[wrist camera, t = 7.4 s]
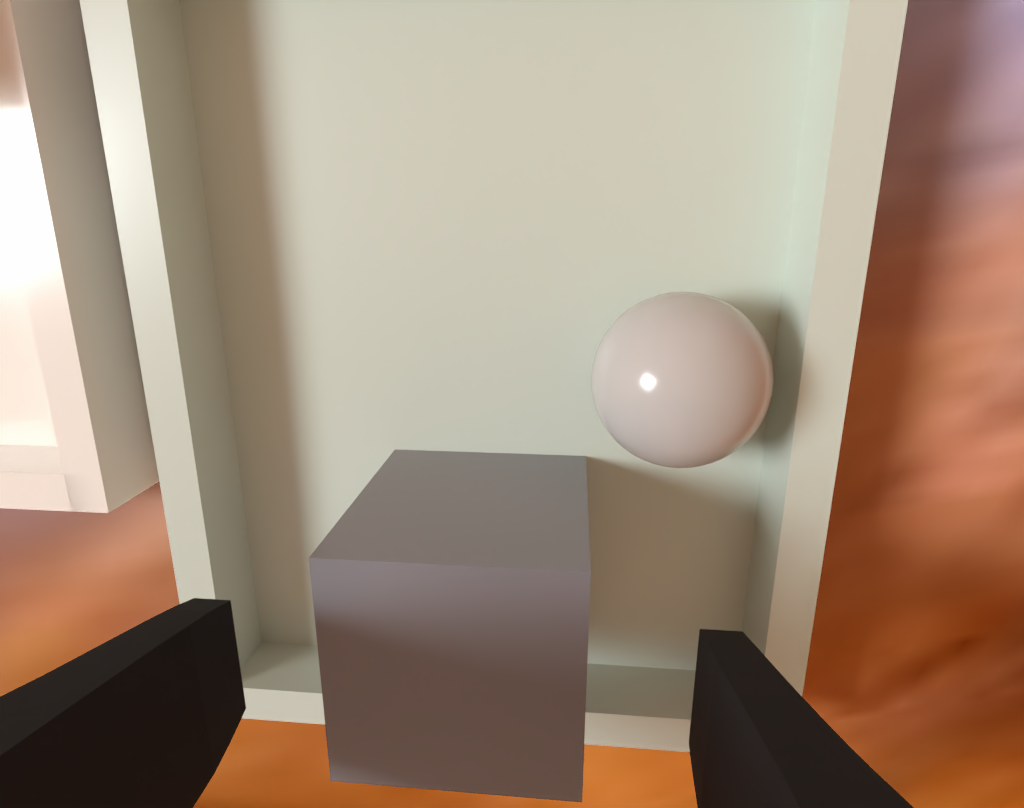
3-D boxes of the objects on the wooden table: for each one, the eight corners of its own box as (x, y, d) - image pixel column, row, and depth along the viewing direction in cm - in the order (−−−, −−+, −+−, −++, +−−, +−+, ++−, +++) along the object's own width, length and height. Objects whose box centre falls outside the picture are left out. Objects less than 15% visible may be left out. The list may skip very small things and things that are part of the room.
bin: (764, 689, 15) (792, 760, 13) (244, 655, 16) (198, 714, 14) (869, -110, 10) (936, -185, 8) (143, -76, 11) (57, -135, 10)
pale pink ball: (738, 437, 13) (787, 501, 10) (586, 433, 13) (589, 493, 10) (754, 284, 12) (813, 303, 9) (592, 282, 12) (596, 301, 9)
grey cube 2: (579, 624, 14) (581, 802, 10) (403, 614, 14) (330, 781, 10) (585, 456, 13) (590, 571, 9) (394, 449, 13) (308, 558, 9)
